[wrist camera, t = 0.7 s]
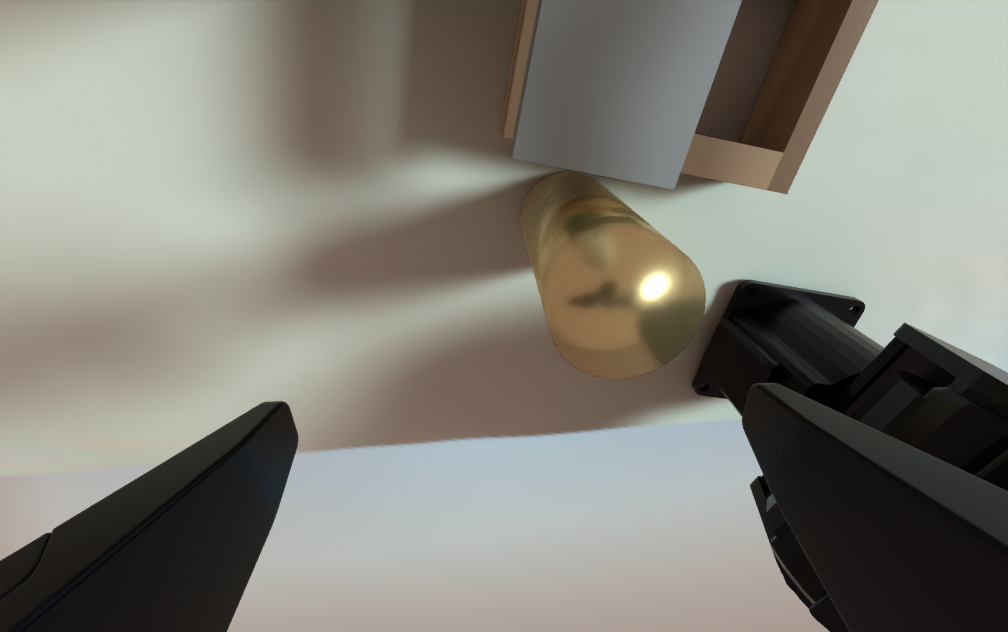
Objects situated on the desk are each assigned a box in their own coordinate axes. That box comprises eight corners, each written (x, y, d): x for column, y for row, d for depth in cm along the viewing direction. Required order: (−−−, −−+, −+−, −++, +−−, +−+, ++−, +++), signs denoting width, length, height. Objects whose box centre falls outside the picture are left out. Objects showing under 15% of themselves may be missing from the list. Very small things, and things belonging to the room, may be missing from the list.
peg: (624, 180, 19) (731, 253, 11) (597, 268, 20) (672, 387, 13) (531, 162, 18) (571, 225, 10) (512, 254, 20) (533, 368, 12)
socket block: (843, -58, 15) (1129, -169, 9) (743, 178, 19) (889, 231, 12) (546, -144, 14) (609, -354, 7) (499, 129, 18) (512, 158, 11)
